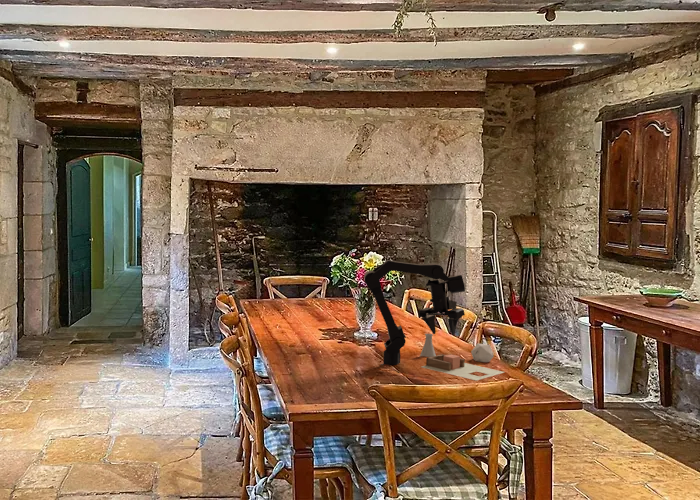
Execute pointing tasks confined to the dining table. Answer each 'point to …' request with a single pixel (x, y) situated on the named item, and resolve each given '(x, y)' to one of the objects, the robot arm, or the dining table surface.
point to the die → (482, 353)
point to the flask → (428, 347)
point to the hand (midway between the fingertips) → (443, 334)
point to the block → (453, 361)
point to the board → (468, 371)
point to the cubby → (441, 362)
